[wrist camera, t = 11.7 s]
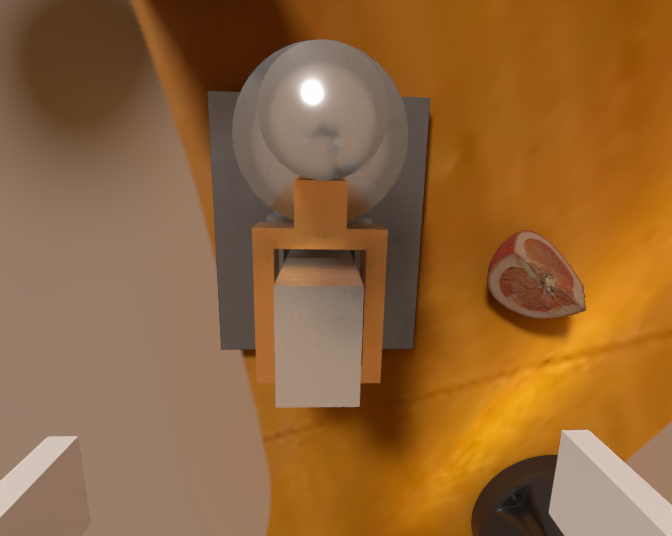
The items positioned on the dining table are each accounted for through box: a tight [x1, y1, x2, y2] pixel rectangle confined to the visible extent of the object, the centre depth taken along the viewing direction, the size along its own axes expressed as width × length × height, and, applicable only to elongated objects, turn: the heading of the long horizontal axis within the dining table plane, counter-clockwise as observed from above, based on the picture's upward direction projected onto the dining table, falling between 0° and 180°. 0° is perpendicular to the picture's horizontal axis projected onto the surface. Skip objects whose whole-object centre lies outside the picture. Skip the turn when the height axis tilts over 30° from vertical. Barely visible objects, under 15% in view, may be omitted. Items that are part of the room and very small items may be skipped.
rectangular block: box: [274, 249, 364, 407], centre depth 25 cm, size 6×4×15 cm, turn 179°
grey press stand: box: [207, 39, 430, 384], centre depth 24 cm, size 22×17×18 cm
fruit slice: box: [487, 230, 586, 319], centre depth 32 cm, size 8×7×5 cm
